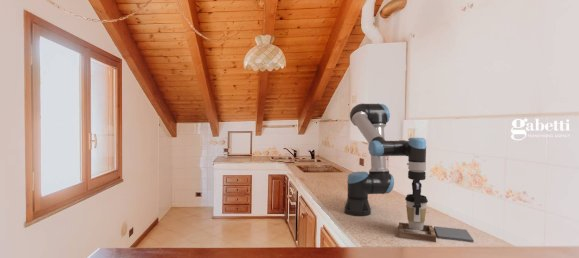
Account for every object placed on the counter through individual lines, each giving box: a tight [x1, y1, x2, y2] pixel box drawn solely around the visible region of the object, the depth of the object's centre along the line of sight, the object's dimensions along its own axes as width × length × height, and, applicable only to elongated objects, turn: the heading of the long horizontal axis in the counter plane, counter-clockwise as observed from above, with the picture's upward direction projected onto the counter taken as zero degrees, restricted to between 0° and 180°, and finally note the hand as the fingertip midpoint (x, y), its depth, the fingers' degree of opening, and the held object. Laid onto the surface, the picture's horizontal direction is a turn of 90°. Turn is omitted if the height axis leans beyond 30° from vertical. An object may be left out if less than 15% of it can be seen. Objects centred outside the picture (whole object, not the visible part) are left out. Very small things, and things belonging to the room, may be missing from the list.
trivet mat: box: [433, 226, 474, 243], centre depth 140 cm, size 14×14×1 cm
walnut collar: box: [398, 222, 437, 243], centre depth 141 cm, size 15×15×2 cm
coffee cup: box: [405, 193, 429, 231], centre depth 141 cm, size 10×10×15 cm
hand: (416, 218), depth 141 cm, fingers closed on coffee cup, 10 cm apart
